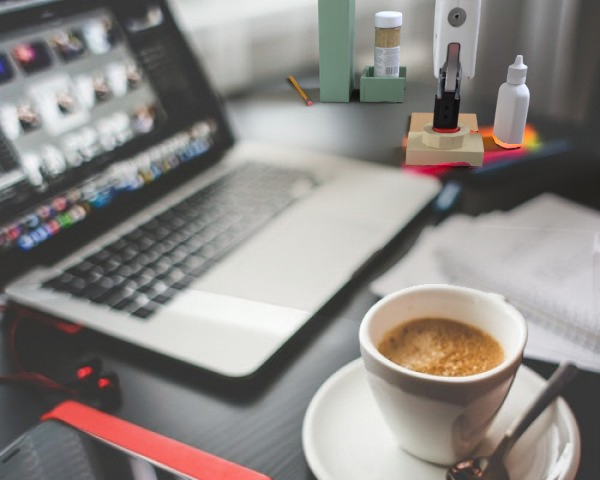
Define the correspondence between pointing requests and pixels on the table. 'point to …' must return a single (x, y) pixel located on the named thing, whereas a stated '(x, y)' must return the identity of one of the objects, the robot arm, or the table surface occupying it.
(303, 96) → the pencil
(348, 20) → the dock machine
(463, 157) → the button box
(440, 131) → the button
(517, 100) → the eye dropper bottle
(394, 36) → the sprinkles bottle
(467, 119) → the cork mat
